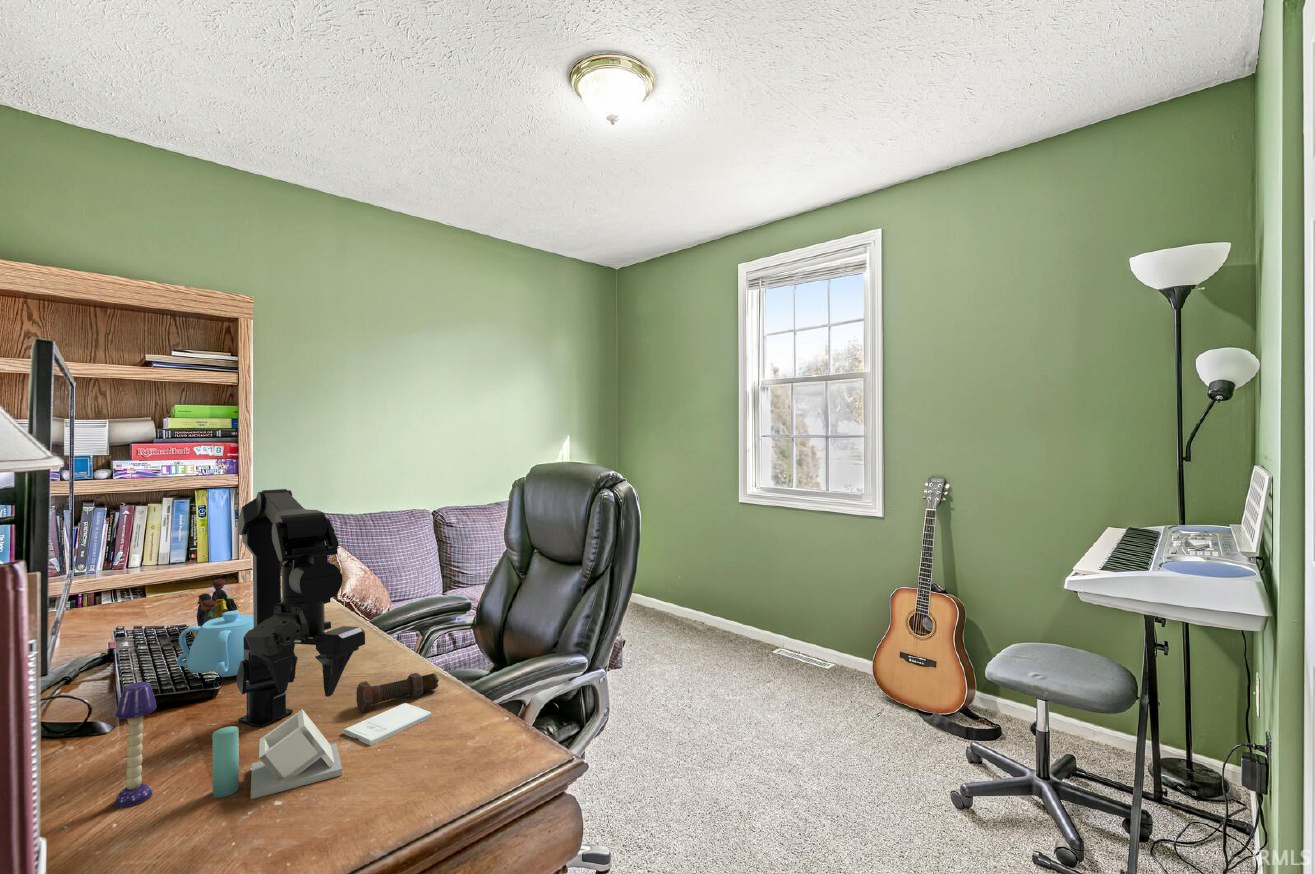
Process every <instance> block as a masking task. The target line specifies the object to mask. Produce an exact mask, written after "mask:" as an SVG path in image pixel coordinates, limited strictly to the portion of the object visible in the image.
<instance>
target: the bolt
mask: <svg viewBox="0 0 1315 874" xmlns="http://www.w3.org/2000/svg"><path fill="white" fill-rule="evenodd" d="M439 681H440V680H439V677H438V675H437V674H436V673H434V672H433V673H429V674H424V675H421V674H420V673H418V672H414V673H409V675H408V676H407V679H406V678H405V679H402V680H396V681H394V682H393V681H391V682H389V683H384V684H380V685H377V684H375V685H372V686H371V685H370V683H369V682H368V681H367V680H366V681H361V682H359V683H358V685H357V687H356V696H355V697H356V704H357V705H356V706H357V709H358V711H361V712H360V713H363V714H364V713H367V712H368V711H369V712H371V710H372V706H373V705H376V704H379V703H383V702H387V701H390V700H394V699H400V698H403V697H409V698H411V699H417V698H420V697H421V696H422V694H423V693H424V692H428V691H434V690H436V689H437V688H438V687H439ZM416 697H417V698H416ZM369 712H368V713H369Z"/></svg>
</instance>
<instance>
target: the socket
mask: <svg viewBox="0 0 1315 874" xmlns="http://www.w3.org/2000/svg"><path fill="white" fill-rule="evenodd" d="M258 748H259V749H258V750H259V751H258V753H259V756H258V759H259V760H260V761H255V762H251V777H250V778H251V780H250V800H254V799H258V798H261V797H265V796H268V795H273V794H276V793H280V792H284V791H287V790H291V789H294V788H295V789H296V788H298V787H302V786H306V785H310V784H313V783H317V782H321V781H325V780H329V779H332V778H336V777H340V776H343V767H342V761H341V757H340V753H339V748H338V745H337V742H334V743H330V742H329V741H328V740H327V738H325V736H324V735H323V734H322V732H321V731H320V730H319V728H318V727H317V726H316V725H315V724H314V722H313V721H312V720H311V718H310V717H309V716H308V715H307V713H306V712H305V711H304V710H303V708H302V709H300V710H299V711H297V712H296V713H295V714H293V715H291V716H290V717H288V719H286V720H285V721H283V722H282V723H280V724H279V725H277V726H276V727H274V728H273V729H272V730H271V731H269V732H268V733H266V734H264V735H263V736H262V737H261V738H259V747H258Z"/></svg>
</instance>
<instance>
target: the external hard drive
mask: <svg viewBox="0 0 1315 874" xmlns="http://www.w3.org/2000/svg"><path fill="white" fill-rule="evenodd" d="M431 718H432V712H431V711H429V710H426V709H424V708H421V707H418V706H415V705H412V704H410V703H406V702H404V703H401V704H399V705H397V706H395V707H392V708H390V709H387V710H386V711H383V712H381V713H379V714H376V715H374V716H371V717H369V718H367V719H365V720H363V721H360V722H357V723H356V724H353V725H351V726H348V727H346V728H344V729H343V735H345V736H348V737H350V738H352V739H357V740H358V741H359V742H362V743H364V744H365V745H368V746H371V747H372V746H374V745H375V743H376V744H377V743H380V742H382V741H384V740H387V739H388V738H391V737H393V736H394V735H397V734H399V733H401V732H403V730H404V731H406V730H408V729H410V728H413V727H414V726H416V725H418V724H421V723H423V722H425V721H427V720H430V719H431ZM420 722H421V723H420Z"/></svg>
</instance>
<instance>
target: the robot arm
mask: <svg viewBox="0 0 1315 874" xmlns="http://www.w3.org/2000/svg"><path fill="white" fill-rule="evenodd" d="M238 516H239V517H238V520H237V524H238V525H237V527H238V529H237V530H238V534H239V535H240V536H242V538H241V540H242V544H244V547H246V549H247V550H248V551H249V552H250V554H251V555H252V589H253V591H252V593H253V594H252V600H253V603H252V605H253V615H254V628H253V629H252V630H249V631H248V632H247V633H246V634H245V636H244V660H243V661H241V662H240V665H239V669H238V673H237V675H236V685H237V689H238V691H239V692H240V694H241V695H242V696H243V695H246V715H243V716H241V717H239V718H238V722H239V723H243V724H247V725H251V726H255V727H259V728H262V727H266V726H267V725H269V724H272V723H274V722H275V721H278V720H281V719H282V718H284V717H287V716H289V715H291V714H293V713H294V711H293V709H292V708H291V709H290V708H287V694H286V691H287V690H288V686H289V683H291V684H292V683H294V681H295V679H296V671H297V669H296V667H297V664H298V655H296V654H295V646H296V645H307V646H308V645H309V646H310V645H311V646H315V650H316V651H317V653H318V655H315V656H314V658H315V659H316V660H317V661H318V662H319V663H320V664H321V665H322V679H323V691H324V696H325V697H326V698H329V697H332V696H334V692H335V690H336V688H337V687H338V684H339V681H340V679H341V676H342V674H343V672H344V670H345V668H346V666H347V664H348V662H349V660H350V659H351V657H352V655H353V653H354V652H357V651H358V650H359V649H360V647H362V646H364V645H366V632H365V630H364V629H363V628H362V627H361V626H349V625H348V626H345V625H344V626H343V625H342V626H340V627H337V628H334V629H332V622H331V621H325V620H326V619H325V618H326V617H325V616H326V615H325V613H326V612H325V604H329V603H331V599H332V598H334V597H335V596H336V595H337V594H338V593H339V592H340V590H341V588H342V585H343V580H344V579H343V574H342V572H341V570H340V569H339V567H338V566H337V565H335V564H333V563H331V562H329V560H328V559H329V558H328V556H335V555H336V556H337V555H338V548H339V545H340V543H339V540H338V536H337V533H336V531H335V528H334V525H333V524H332V523H331V520H330V518H329V517H327V516H326V514H325V512H323V511H321V510H319V509H306V508H304V507H303V506H302V505H301V504H300V503H299V502H298V501H297V499H295V498H294V497H293V492H292V491H291V489H287V488H277V489H263V490H261V491H258V492H257V494H256V497H255V498H254V499H252V500H251V501H249V502H248V503H246V504H244V505H242V507H241V509H240V513H239V515H238ZM281 562H282V563H281ZM281 595H282V602H281ZM330 629H331V630H330ZM326 630H328V631H326ZM311 637H312V638H311Z"/></svg>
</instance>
